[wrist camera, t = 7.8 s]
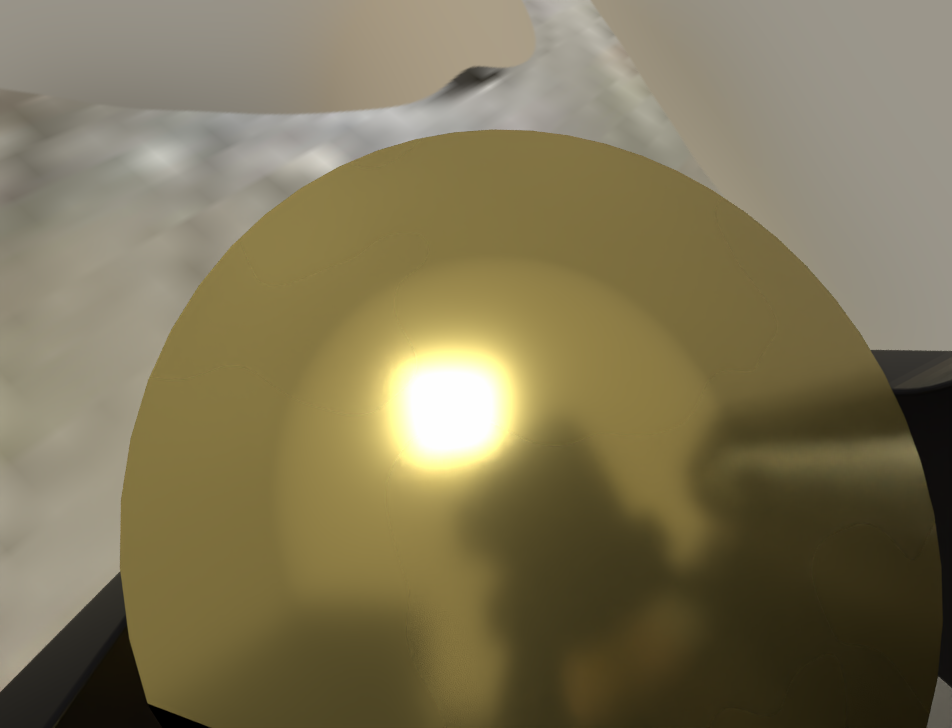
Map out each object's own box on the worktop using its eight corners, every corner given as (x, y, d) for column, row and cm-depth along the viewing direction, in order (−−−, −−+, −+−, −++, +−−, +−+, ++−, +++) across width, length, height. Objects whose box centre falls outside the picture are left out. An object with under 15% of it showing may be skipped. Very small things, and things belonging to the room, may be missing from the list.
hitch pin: (529, 491, 17) (988, 356, 3) (456, 613, 15) (826, 1393, 2) (426, 418, 18) (470, 45, 4) (344, 526, 16) (-127, 540, 2)
